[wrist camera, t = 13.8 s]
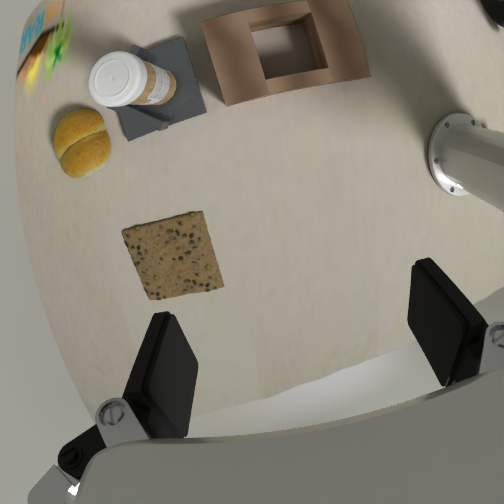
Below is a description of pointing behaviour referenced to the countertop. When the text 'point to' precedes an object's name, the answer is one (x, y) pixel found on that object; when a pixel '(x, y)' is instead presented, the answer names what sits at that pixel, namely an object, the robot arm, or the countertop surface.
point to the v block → (178, 106)
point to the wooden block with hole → (307, 12)
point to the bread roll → (82, 143)
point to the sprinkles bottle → (129, 81)
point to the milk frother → (495, 10)
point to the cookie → (174, 256)
